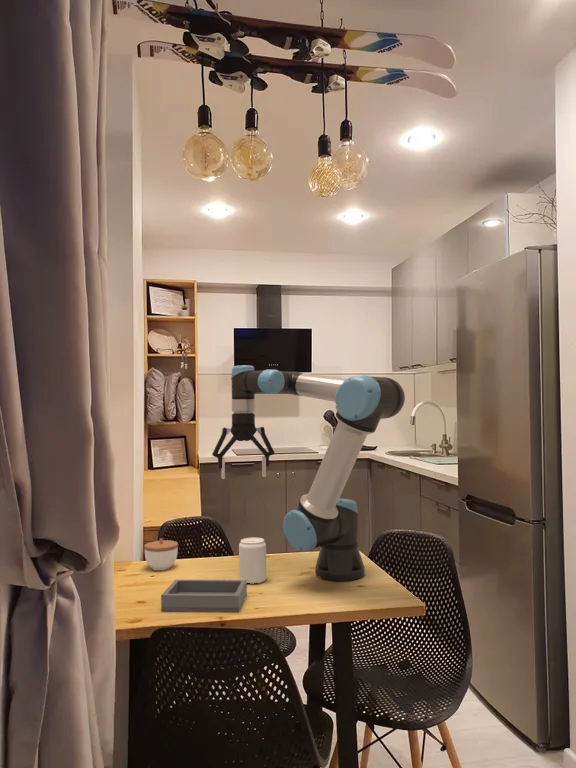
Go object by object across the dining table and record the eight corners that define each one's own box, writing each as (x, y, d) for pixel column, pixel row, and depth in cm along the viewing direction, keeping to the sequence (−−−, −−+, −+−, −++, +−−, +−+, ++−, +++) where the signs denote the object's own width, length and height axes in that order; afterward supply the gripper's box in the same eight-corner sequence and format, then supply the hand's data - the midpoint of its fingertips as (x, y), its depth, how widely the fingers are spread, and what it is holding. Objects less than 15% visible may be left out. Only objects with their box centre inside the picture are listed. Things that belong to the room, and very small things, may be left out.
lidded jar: (185, 566, 181) (184, 537, 181) (161, 574, 172) (161, 544, 172) (161, 561, 186) (161, 534, 187) (137, 569, 177) (137, 540, 178)
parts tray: (246, 594, 151) (246, 579, 151) (238, 611, 138) (238, 595, 138) (175, 594, 153) (175, 579, 153) (161, 611, 140) (161, 595, 140)
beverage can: (260, 586, 158) (259, 544, 159) (234, 583, 161) (234, 542, 162) (270, 578, 166) (270, 537, 167) (246, 575, 169) (245, 536, 169)
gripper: (277, 412, 187) (278, 474, 186) (203, 413, 181) (204, 477, 180) (282, 412, 180) (283, 477, 179) (206, 413, 173) (206, 480, 173)
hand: (243, 477), depth 179 cm, fingers open, 13 cm apart
